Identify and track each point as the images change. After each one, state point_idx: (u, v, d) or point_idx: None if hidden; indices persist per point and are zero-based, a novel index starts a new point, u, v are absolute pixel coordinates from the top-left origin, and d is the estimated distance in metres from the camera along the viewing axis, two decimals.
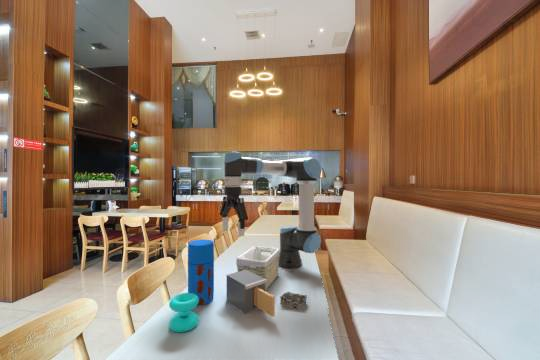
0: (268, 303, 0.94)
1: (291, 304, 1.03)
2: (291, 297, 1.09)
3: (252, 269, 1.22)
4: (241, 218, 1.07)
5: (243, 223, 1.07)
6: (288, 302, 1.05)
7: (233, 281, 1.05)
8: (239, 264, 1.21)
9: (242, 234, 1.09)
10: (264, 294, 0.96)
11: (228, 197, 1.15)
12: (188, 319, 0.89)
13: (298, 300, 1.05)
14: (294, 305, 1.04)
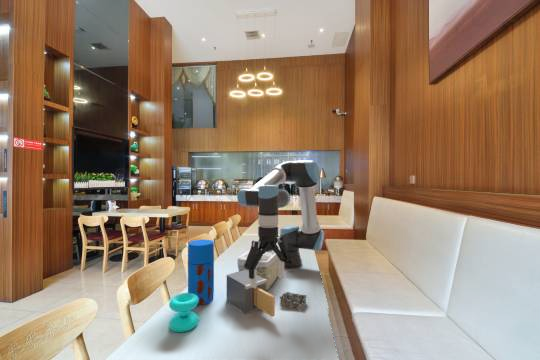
0: (268, 303, 0.94)
1: (291, 304, 1.03)
2: (291, 297, 1.09)
3: None
4: None
5: (250, 272, 0.90)
6: (288, 302, 1.05)
7: (233, 281, 1.05)
8: (240, 264, 1.21)
9: (253, 285, 0.90)
10: (264, 294, 0.96)
11: None
12: (188, 319, 0.89)
13: (298, 300, 1.05)
14: (294, 305, 1.04)
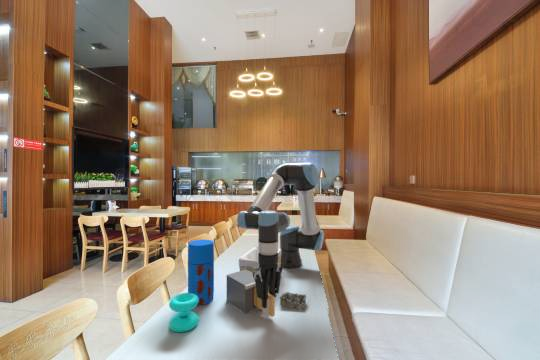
0: None
1: (291, 304, 1.03)
2: (290, 297, 1.09)
3: (255, 269, 1.21)
4: None
5: (263, 301, 0.94)
6: (288, 302, 1.04)
7: (233, 281, 1.05)
8: (242, 265, 1.21)
9: (266, 314, 0.94)
10: None
11: None
12: (188, 319, 0.89)
13: (298, 300, 1.05)
14: (294, 305, 1.04)
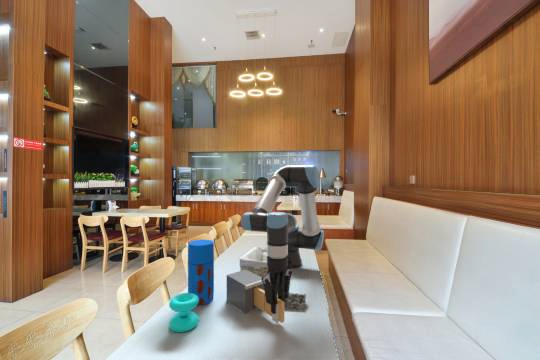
0: None
1: (291, 304, 1.03)
2: (290, 297, 1.09)
3: (256, 269, 1.21)
4: None
5: (272, 307, 0.90)
6: (288, 302, 1.04)
7: (233, 281, 1.05)
8: (242, 265, 1.20)
9: (275, 320, 0.90)
10: None
11: None
12: (188, 319, 0.89)
13: (298, 300, 1.05)
14: (294, 305, 1.04)
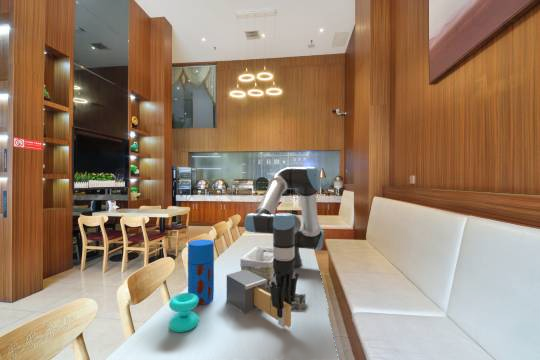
0: None
1: None
2: None
3: (257, 269, 1.21)
4: None
5: (278, 311, 0.87)
6: None
7: (233, 281, 1.05)
8: (243, 265, 1.20)
9: (281, 324, 0.88)
10: None
11: None
12: (188, 319, 0.89)
13: (298, 300, 1.05)
14: (294, 305, 1.04)
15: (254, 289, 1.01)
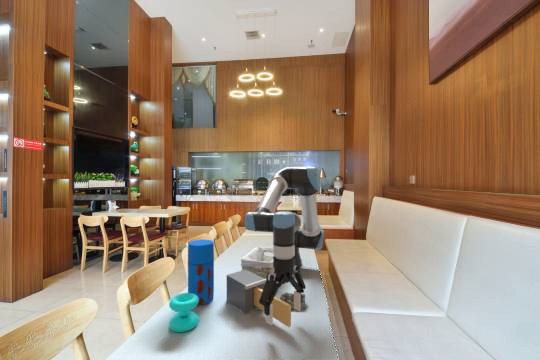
0: (284, 312, 0.88)
1: (292, 304, 1.03)
2: (289, 297, 1.09)
3: (258, 270, 1.21)
4: None
5: (265, 308, 0.84)
6: (288, 303, 1.04)
7: (233, 281, 1.05)
8: (244, 265, 1.20)
9: (268, 322, 0.84)
10: (279, 302, 0.90)
11: None
12: (188, 319, 0.89)
13: None
14: None
15: (254, 289, 1.01)
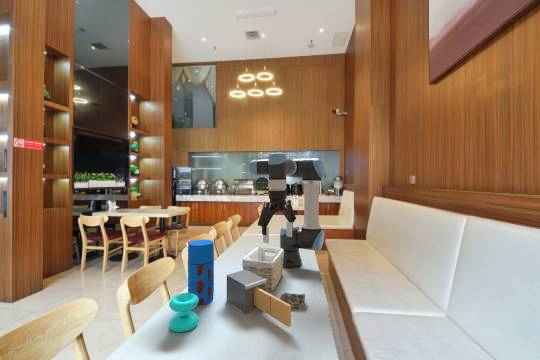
0: (284, 312, 0.88)
1: (292, 305, 1.03)
2: (289, 298, 1.09)
3: (259, 270, 1.21)
4: None
5: (263, 229, 1.02)
6: (288, 303, 1.04)
7: (233, 281, 1.05)
8: (245, 265, 1.20)
9: (265, 241, 1.02)
10: (279, 302, 0.90)
11: None
12: (188, 319, 0.89)
13: (298, 300, 1.05)
14: (295, 305, 1.04)
15: (254, 289, 1.01)
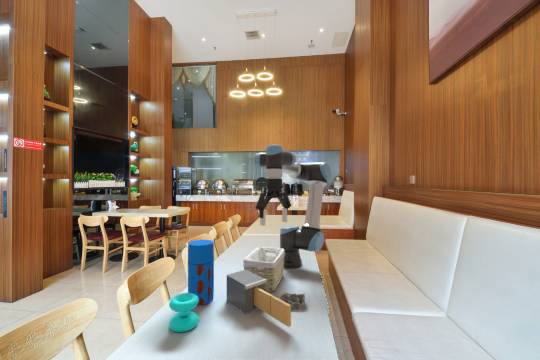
0: (284, 312, 0.88)
1: (292, 305, 1.03)
2: (289, 298, 1.08)
3: (260, 270, 1.20)
4: None
5: (260, 212, 1.13)
6: (288, 303, 1.04)
7: (233, 281, 1.05)
8: (246, 266, 1.19)
9: (262, 223, 1.13)
10: (279, 302, 0.90)
11: None
12: (188, 319, 0.89)
13: (298, 300, 1.05)
14: (295, 305, 1.03)
15: (254, 289, 1.01)
